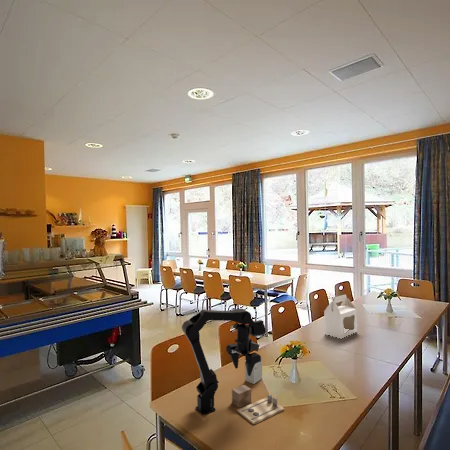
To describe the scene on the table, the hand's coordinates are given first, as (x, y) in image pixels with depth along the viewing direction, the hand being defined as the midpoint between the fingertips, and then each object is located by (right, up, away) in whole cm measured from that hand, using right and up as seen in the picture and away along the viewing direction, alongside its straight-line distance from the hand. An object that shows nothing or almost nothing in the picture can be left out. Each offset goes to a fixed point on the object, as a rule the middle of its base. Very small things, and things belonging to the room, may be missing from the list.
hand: (242, 372), depth 141 cm
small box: (+7, -13, +19) cm, 24 cm away
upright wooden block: (-1, -13, -2) cm, 13 cm away
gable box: (+78, -13, +87) cm, 118 cm away
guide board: (+7, -13, -9) cm, 17 cm away
